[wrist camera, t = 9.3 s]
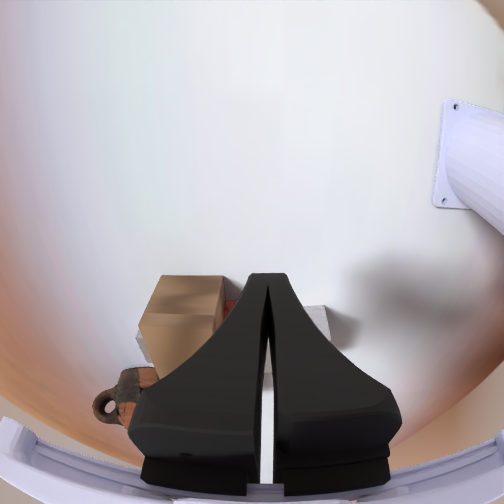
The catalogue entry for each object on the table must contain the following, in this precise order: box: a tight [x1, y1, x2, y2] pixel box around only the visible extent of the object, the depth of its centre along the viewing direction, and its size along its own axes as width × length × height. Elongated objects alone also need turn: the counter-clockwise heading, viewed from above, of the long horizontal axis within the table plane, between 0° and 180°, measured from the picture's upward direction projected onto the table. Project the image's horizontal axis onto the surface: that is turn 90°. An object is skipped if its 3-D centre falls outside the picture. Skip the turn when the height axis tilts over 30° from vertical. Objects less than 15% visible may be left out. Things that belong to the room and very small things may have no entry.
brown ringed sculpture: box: [92, 367, 159, 439], centre depth 31 cm, size 12×10×8 cm
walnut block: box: [138, 276, 226, 379], centre depth 24 cm, size 5×12×6 cm, turn 2°
